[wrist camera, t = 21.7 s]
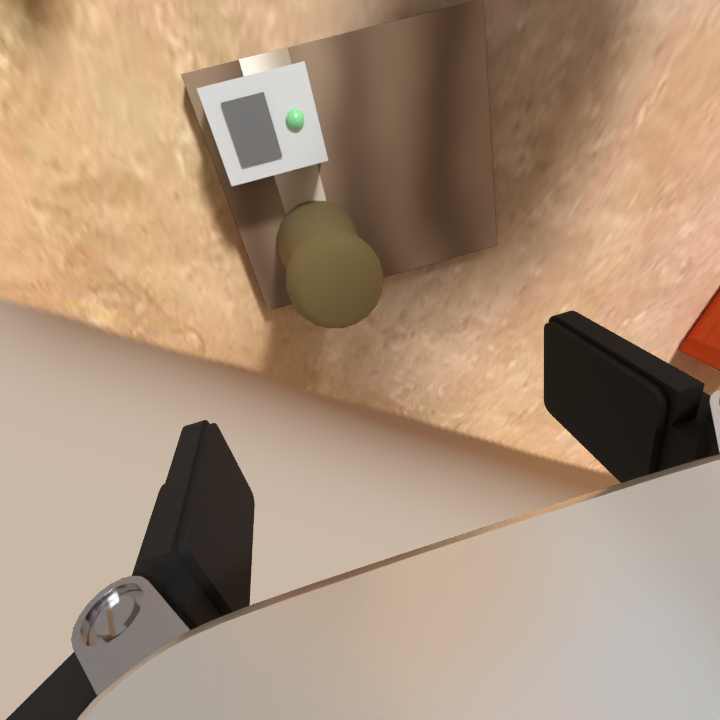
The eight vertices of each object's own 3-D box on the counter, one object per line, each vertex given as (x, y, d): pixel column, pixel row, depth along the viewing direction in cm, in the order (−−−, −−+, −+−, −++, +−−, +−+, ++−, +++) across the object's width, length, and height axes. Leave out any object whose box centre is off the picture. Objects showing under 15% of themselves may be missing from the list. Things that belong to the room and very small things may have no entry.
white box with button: (301, 69, 25) (304, 60, 22) (323, 159, 27) (328, 160, 24) (204, 94, 24) (195, 87, 22) (235, 182, 27) (231, 186, 24)
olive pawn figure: (374, 244, 31) (420, 289, 21) (317, 299, 32) (337, 365, 22) (318, 180, 28) (342, 199, 19) (258, 243, 29) (251, 291, 20)
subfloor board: (472, 5, 27) (483, -2, 25) (488, 241, 34) (497, 245, 33) (185, 77, 25) (180, 74, 24) (268, 303, 33) (268, 311, 32)
